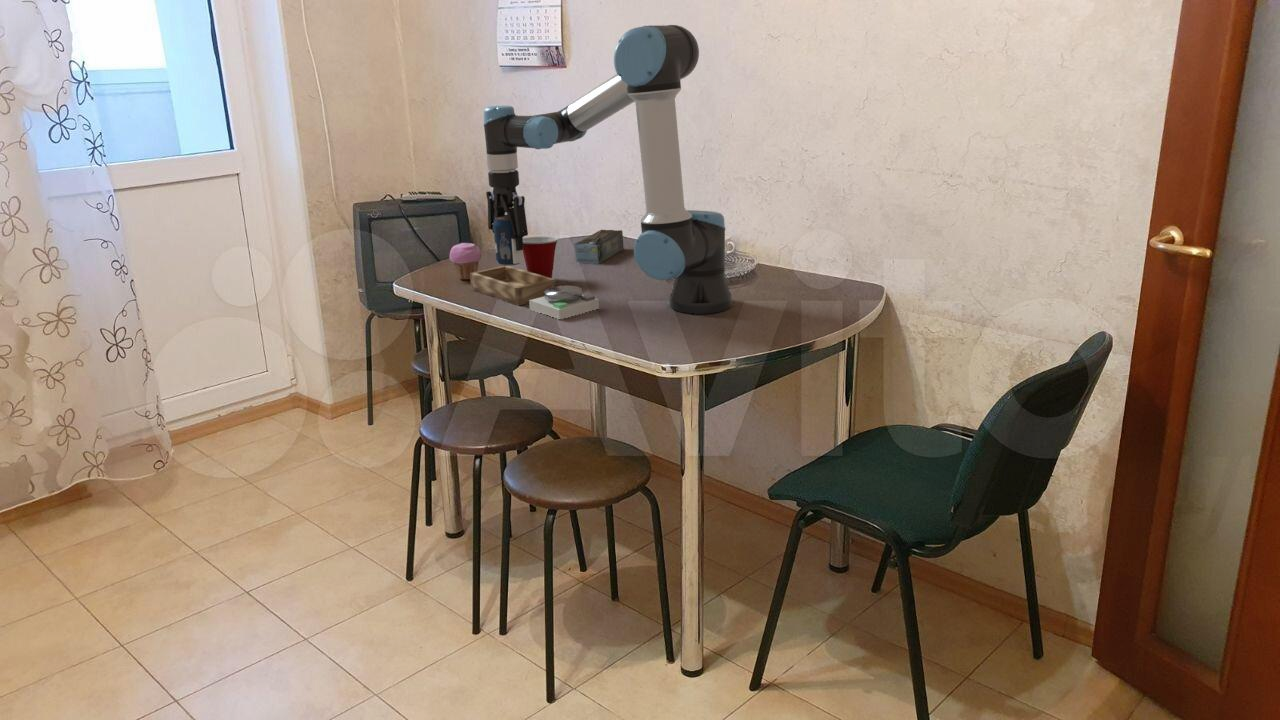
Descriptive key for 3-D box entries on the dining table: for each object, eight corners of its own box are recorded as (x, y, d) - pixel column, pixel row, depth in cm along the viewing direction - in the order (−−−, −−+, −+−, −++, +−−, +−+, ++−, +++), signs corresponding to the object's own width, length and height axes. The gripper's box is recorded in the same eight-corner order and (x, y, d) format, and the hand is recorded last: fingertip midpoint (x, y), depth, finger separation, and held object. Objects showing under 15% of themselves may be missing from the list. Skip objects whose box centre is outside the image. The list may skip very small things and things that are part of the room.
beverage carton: (574, 263, 272) (572, 241, 270) (601, 248, 289) (600, 227, 287) (598, 265, 269) (597, 242, 267) (624, 250, 286) (624, 229, 284)
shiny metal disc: (589, 296, 227) (589, 290, 226) (559, 304, 221) (559, 298, 220) (566, 289, 233) (566, 283, 232) (537, 296, 227) (537, 291, 227)
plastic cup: (564, 275, 258) (561, 233, 254) (557, 286, 248) (554, 242, 244) (525, 276, 259) (522, 233, 255) (517, 286, 249) (513, 242, 245)
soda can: (519, 258, 245) (516, 213, 241) (526, 264, 239) (523, 217, 235) (493, 261, 243) (489, 215, 239) (500, 267, 237) (496, 220, 233)
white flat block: (598, 309, 228) (598, 296, 226) (559, 320, 220) (558, 306, 219) (568, 299, 236) (567, 287, 235) (529, 310, 229) (528, 297, 227)
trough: (555, 296, 239) (554, 279, 238) (518, 305, 232) (517, 288, 231) (507, 281, 255) (506, 265, 253) (471, 289, 248) (469, 273, 246)
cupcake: (483, 281, 256) (480, 245, 252) (451, 283, 254) (447, 247, 251) (483, 273, 264) (480, 238, 260) (452, 275, 263) (448, 240, 259)
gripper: (538, 172, 228) (544, 263, 236) (493, 164, 242) (500, 251, 250) (513, 176, 223) (520, 269, 231) (468, 168, 237) (476, 256, 245)
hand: (509, 259), depth 241 cm, fingers closed on soda can, 7 cm apart
